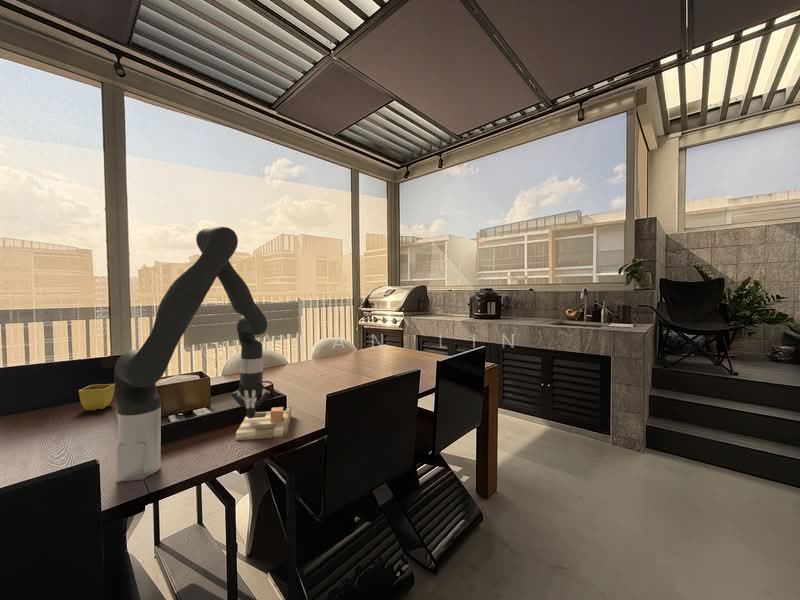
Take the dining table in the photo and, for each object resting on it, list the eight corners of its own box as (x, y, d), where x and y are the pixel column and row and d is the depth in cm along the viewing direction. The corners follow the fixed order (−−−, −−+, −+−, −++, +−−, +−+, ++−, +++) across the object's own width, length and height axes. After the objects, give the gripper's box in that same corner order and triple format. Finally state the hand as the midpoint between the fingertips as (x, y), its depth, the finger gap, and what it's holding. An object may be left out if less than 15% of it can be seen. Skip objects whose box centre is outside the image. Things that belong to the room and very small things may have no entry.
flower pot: (90, 405, 141) (90, 384, 141) (115, 404, 144) (115, 383, 144) (78, 413, 133) (77, 390, 132) (104, 411, 135) (104, 389, 135)
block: (282, 421, 122) (282, 410, 122) (270, 422, 121) (270, 411, 121) (283, 417, 126) (283, 407, 126) (272, 418, 125) (272, 407, 125)
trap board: (286, 436, 115) (286, 422, 115) (235, 440, 112) (236, 425, 111) (291, 416, 134) (291, 404, 134) (248, 419, 130) (248, 406, 130)
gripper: (228, 373, 116) (227, 422, 116) (269, 372, 119) (268, 420, 119) (234, 368, 123) (233, 415, 123) (272, 367, 126) (271, 413, 126)
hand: (250, 417), depth 121 cm, fingers closed
